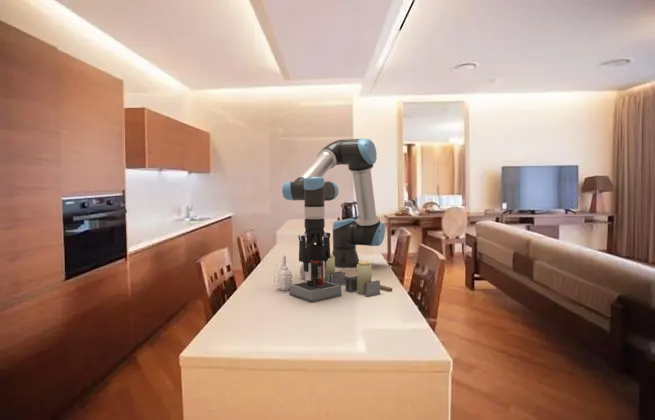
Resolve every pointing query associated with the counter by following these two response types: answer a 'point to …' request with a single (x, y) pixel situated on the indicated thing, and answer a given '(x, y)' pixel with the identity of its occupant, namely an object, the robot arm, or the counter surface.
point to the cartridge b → (363, 275)
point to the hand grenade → (284, 276)
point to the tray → (315, 291)
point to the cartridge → (329, 267)
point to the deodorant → (316, 266)
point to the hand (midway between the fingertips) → (315, 278)
